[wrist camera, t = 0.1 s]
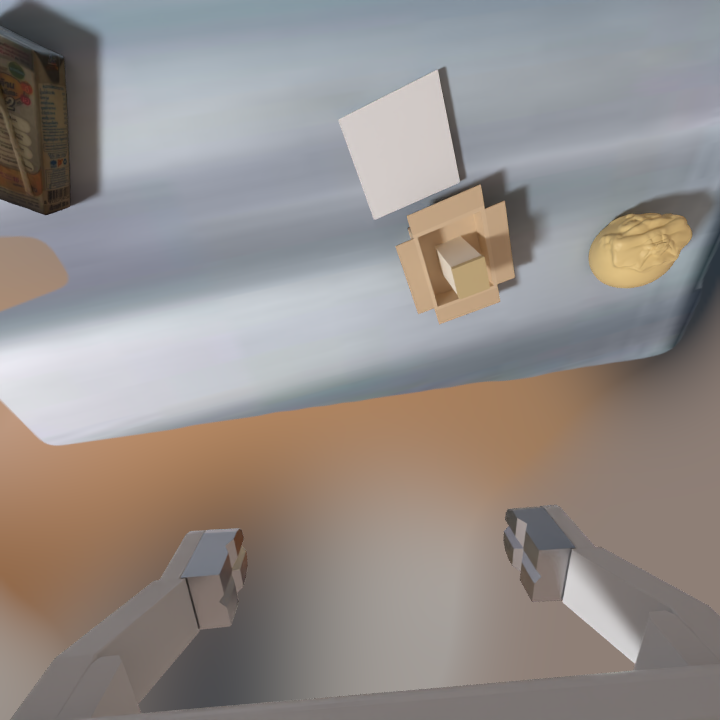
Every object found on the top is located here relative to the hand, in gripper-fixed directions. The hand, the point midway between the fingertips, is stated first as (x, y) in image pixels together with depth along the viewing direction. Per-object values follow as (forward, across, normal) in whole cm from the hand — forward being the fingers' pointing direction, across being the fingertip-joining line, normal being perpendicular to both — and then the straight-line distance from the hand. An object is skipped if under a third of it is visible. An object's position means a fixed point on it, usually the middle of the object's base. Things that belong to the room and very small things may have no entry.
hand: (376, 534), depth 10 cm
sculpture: (+52, -47, -9) cm, 71 cm away
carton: (+52, -18, -8) cm, 56 cm away
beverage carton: (+46, +41, -27) cm, 67 cm away
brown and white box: (+52, -18, -8) cm, 55 cm away
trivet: (+47, -9, -23) cm, 53 cm away
